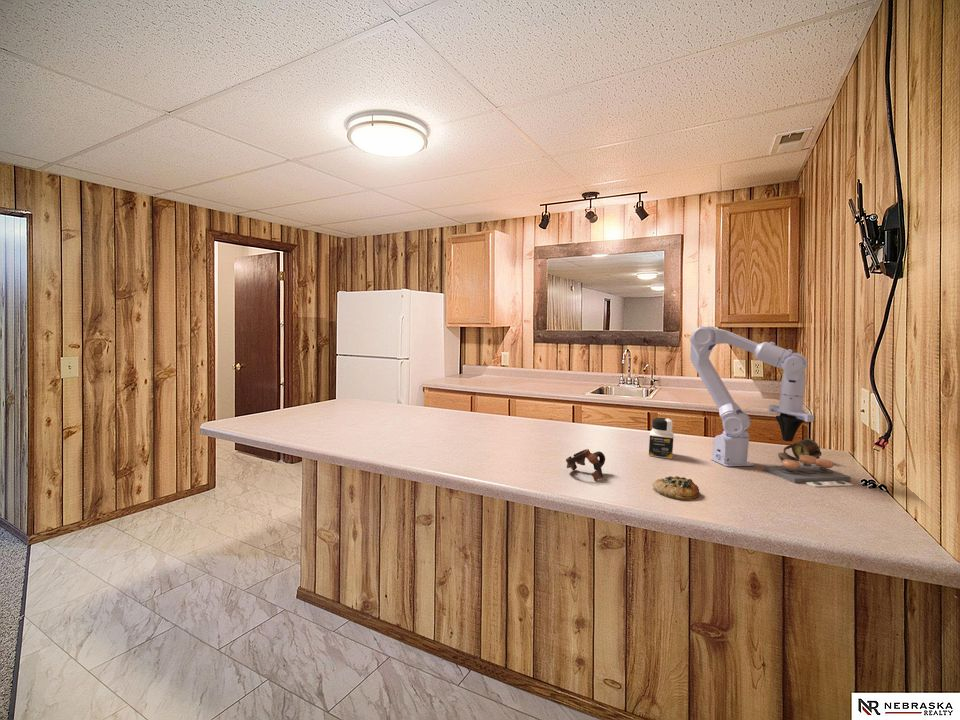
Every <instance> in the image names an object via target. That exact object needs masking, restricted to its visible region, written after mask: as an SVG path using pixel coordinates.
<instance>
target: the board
mask: <svg viewBox="0 0 960 720" xmlns="http://www.w3.org/2000/svg"><path fill="white" fill-rule="evenodd" d="M819 468H820V467H819V466H816V465H815V464H811V466H810V467H808V466H804V465H803V464H799V469H794V471H788V470H786V468H785V467H783V466H782V465H764V471H766V472H768V473H770V474H773V475H775V476H778V477H780V478H782V479H784V480H786V481H789V482H792V483H793V484H797V483H799V484H800V483H802V484H803V483H805V482H823V481H845V482H851V480H852V479H851V478H852V477H851V476H850V475H846V474H844V473H841V472H839V471H836V470H833V469H832V468H827V470H821V469H819ZM805 484H806V483H805Z"/></svg>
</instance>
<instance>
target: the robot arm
mask: <svg viewBox="0 0 960 720" xmlns="http://www.w3.org/2000/svg"><path fill="white" fill-rule="evenodd" d="M689 342H690V354H689V360H690V362H691V363H692V365H693V367H694V368H695V371H696V373H697V374H698V375H699V378H700V379H701V381H702V383H703V384H704V386H705V387H706V390H707V391H708V393H709V395H710V396H711V398H712V400H713V402H714V403H715V405H716V407H717V408H718V412H719V413H718V414H719V417H720V418H721V422H722V428H723V431H722V433H721V434H718V435H715V437H713V440H712V454H711V457H710V460H711V461H714V462H715V463H719V464H720V465H723V466H724V467H751V466H752V467H754V465H755V463H752V462H750V461H748V455H749V441H750V434H749V432H748V430H749V428H750V427H751V423H752V421H751V418H750V416H749V414H748V413H746V412H745V411H743V410H742V409H741V406H740V405H738V403H736V402H735V400H734V398H733V397H732V395H731V394H730V392H729V390H728V388H727V387H726V385H725V383H724V382H723V380H722V378H721V376H720V375H719V373H718V371H717V370H716V368H715V367H714V365H713V364H712V361H711V360H710V355H711V353H712V351H713V349H714V347H715V346H716V345H719V344H721V345H722V344H724V345H725V344H728V345H730V346H733V347H736V348H738V349H741V350H744V351H747V352H749V353H752V354H753V355H754V357H755V359H756V360H758V361H760V362H763V363H765V364H768V365H770V366H773V367H775V368H777V369H780V368H781V369H782V370H783V371H782V378H781V384H780V385H781V386H780V394H779V405H777V404H768V405H769V406H768V412H769V413H776V414H779V415H776V416H775V419H776V421H777V423H778V425H779V428H780V432H781V437H782V441H785V442H793V441H794V438H795V437H796V434H797V432H798V429H799V428H800V427H801V425H803V423H805V422H807V423H814V419H815V414H812V413H809V412H807V411H806V410H804V409H803V407H804V397H805V388H806V387H805V386H806V369H807V367H808V360H807V358H806V357H805V356H804V355H803V354H801V353H800V352H793V351H794V350H793V349H790V348H789V349H786V348H783V347H781V346H778V345H776V342H773V341H770V342H768V341H763V342H761V343H758V342H755V341H754V340H750V339H749V338H745V337H743V336H742V335H739V334H736V333H734V332H732V331H730V330H725V329H721V328H717V327H714V326H704V325H703V326H699V327H696V328H695V329H694V331H692V334H691V336H690V338H689Z"/></svg>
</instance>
